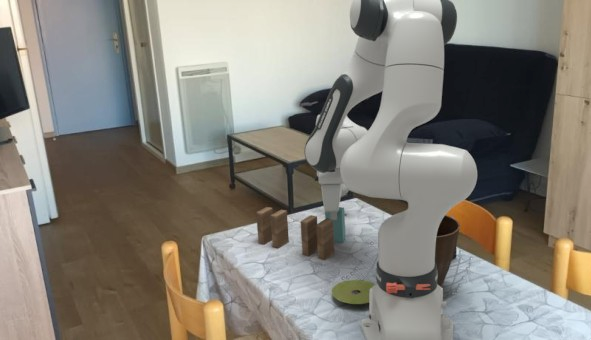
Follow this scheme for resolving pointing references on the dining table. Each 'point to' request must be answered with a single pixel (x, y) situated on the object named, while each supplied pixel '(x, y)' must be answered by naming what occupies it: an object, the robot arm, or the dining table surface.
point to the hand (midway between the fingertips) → (334, 216)
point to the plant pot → (445, 246)
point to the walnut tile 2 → (279, 228)
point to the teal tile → (338, 225)
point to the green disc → (353, 291)
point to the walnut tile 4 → (309, 235)
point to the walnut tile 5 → (325, 239)
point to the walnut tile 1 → (264, 225)
